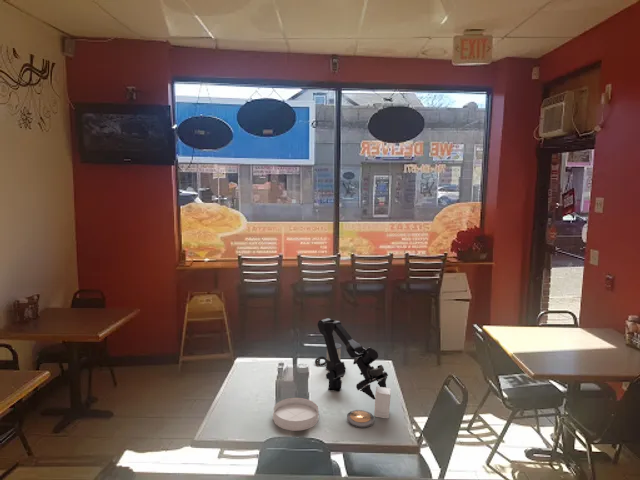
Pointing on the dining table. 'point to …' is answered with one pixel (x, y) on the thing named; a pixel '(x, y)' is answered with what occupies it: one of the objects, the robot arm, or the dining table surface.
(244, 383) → the dining table surface
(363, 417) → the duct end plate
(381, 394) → the supplement box
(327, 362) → the milk frother
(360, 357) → the robot arm
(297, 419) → the dish
